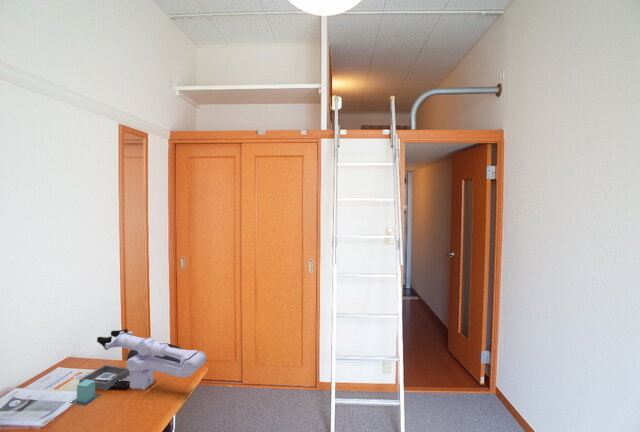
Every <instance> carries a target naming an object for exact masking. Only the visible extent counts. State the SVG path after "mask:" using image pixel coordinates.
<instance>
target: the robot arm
mask: <svg viewBox="0 0 640 432" xmlns="http://www.w3.org/2000/svg"><path fill="white" fill-rule="evenodd" d="M113 337H114V338H113ZM96 342H97V343H99V344H100V345H101V346H102V347H103V349H104V350H106V351H107V350H109V349H112V348H124V349H127V350H131V351H136V352H137V354H135V355H134V356H132V357H129V358H128V359H127V360H126V364H125V366H126V368H128V370H129V371H130V376H129V388H131V389H133V390H137V389H138V390H144V391H145V390H146V389H147V388H149V387H150V386H151V385H152V384H153V383H154V372H158V373H162V374H165V375H169V376H173V377H177V378H181V379H184V378H187V377H191V376H193V375H194V374H195V373H196V372H197V371H198V370H199V369H200V368H201V367H202V366H204V365H205V364H206V362H207V355H206V354H205V352H203V351H198V350H196V349H189V350H188V349H183V348H176V347H171V346H170V345H169V344H168V343H165V342H164V341H157V340H155V339H154V338H153V337H151V336H149V337H148V338H146V337H145V338H144V337H140V336H135V335H134V332H133V331H128V328H125V329H122V330H120V329H119V330H111V331H110V336H105V337H104V336H98V337H97V338H96ZM165 356H168V357H170V358H174V359H177V360H179V361H180V362H178V361H177V362H176V361H172V360H168V359H165V358H163V357H165Z"/></svg>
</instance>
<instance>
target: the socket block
mask: <svg viewBox="0 0 640 432" xmlns="http://www.w3.org/2000/svg"><path fill="white" fill-rule="evenodd" d="M95 381H96V380H94V379H93V380H88V379H86V380H85V381H83V382H81V383H77V385H76V398H77V401H79V402H84V403H86V402H87V401H89V400H90V399H92V398H93V397H95V394H96V389H95Z"/></svg>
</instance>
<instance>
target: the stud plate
mask: <svg viewBox="0 0 640 432" xmlns="http://www.w3.org/2000/svg"><path fill="white" fill-rule="evenodd" d="M101 396H102V394H101V393H100V394H99V393H95V397H93V398H92V399H90V400H89V401H87V402H86V403H84V402H79V401H77V397H76V398H74V399H73V400H71V401H72V402H71V401H70V402H71V403H70V404H73V405H77V406H83V407H86V406H88V405H90V403H92V402H93V401H95V400H97V399H98V398H100V397H101Z"/></svg>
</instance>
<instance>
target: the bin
mask: <svg viewBox="0 0 640 432" xmlns="http://www.w3.org/2000/svg"><path fill="white" fill-rule="evenodd" d="M104 373H109V374H115V375H116V376H113V377H112V378H111V379H109V380H107V381H106V382H105V381H100V380H94V379H96V378H98V377H99V376H101V375H103V374H104ZM129 375H130V371H129V370H128V368H127V367H122V366H116V365H110V364H104V365H102V366H101V367H99V368H97V369H95V370H94V371H92V372H89V373H88V374H87V375H85V376H83V377H81V378H80V379H79V383H81V382H83V381H85V380H86V379H88V380H92V379H93V380H94V381H95V390H101V391H107V390H109V389H111V388H112V387H114V386H115V385H116V384H115V383H116V382H117V381H119V380H121V381H123V380H124V379H126V378H127V377H130V376H129ZM123 378H124V379H123ZM119 382H120V381H119ZM79 383H78V384H79ZM114 384H115V385H114ZM113 385H114V386H113ZM111 386H112V387H111Z"/></svg>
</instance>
